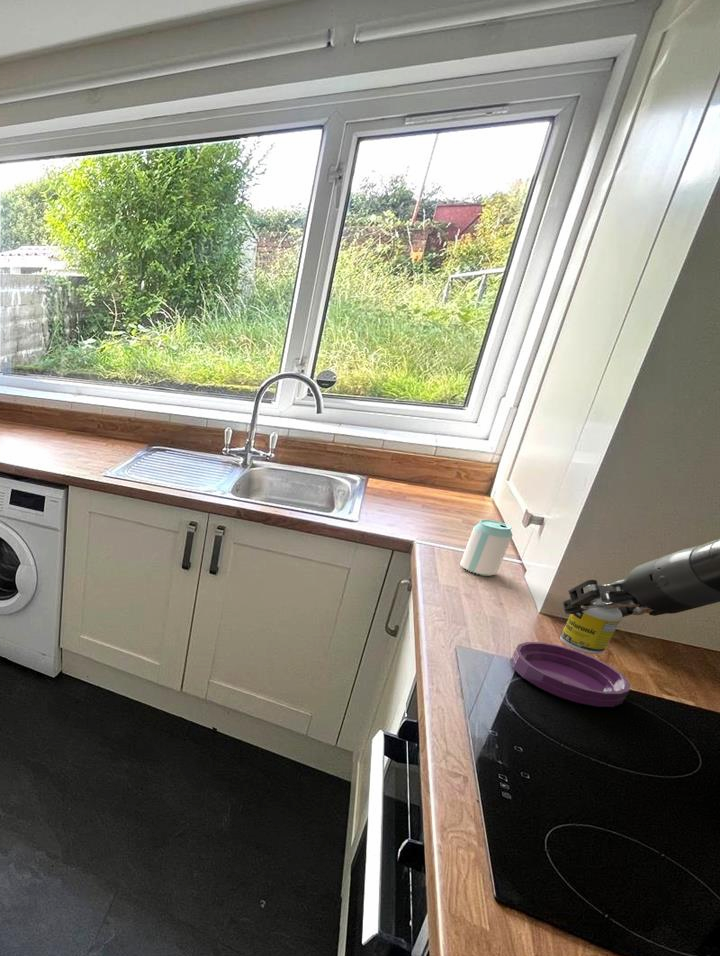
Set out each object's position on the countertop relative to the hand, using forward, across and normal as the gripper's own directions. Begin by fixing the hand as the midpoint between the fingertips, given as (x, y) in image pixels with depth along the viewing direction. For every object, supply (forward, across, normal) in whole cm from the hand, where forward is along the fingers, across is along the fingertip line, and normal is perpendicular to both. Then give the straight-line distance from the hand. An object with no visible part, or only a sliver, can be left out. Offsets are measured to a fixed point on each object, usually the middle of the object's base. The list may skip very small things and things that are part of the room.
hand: (587, 610), depth 95 cm
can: (+40, -10, -21) cm, 46 cm away
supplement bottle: (+3, 0, +5) cm, 6 cm away
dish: (+8, 0, +10) cm, 13 cm away
